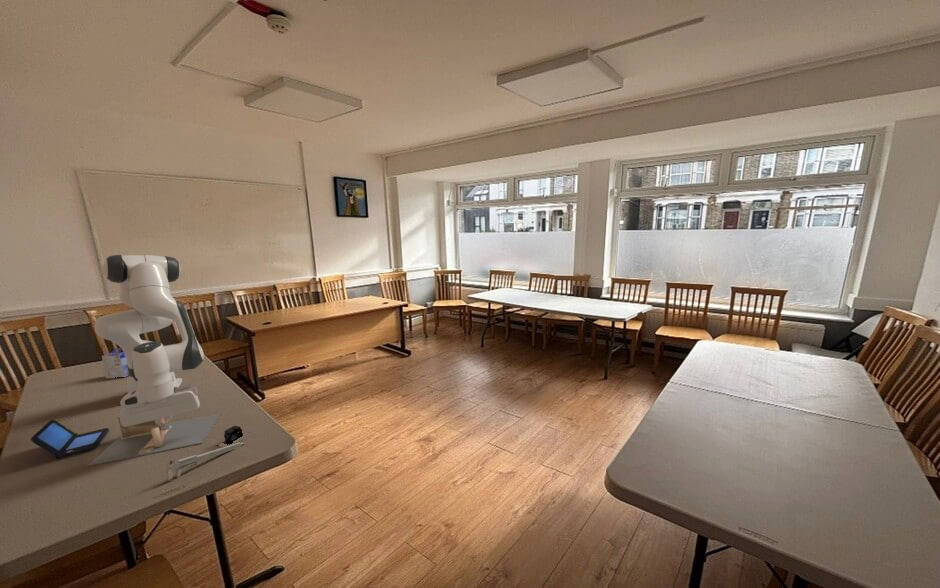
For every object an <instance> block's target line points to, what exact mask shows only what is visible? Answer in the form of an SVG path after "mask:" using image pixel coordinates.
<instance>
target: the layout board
mask: <svg viewBox="0 0 940 588" xmlns="http://www.w3.org/2000/svg"><path fill="white" fill-rule="evenodd" d="M220 414H221V413H217V414H212V415H210V414H209V415H204V416H198V417H195V418H189V419H183V420H177V421H172V422H171V421H170V423H169V424H170V429H168V430H166V433H165V436H164V439H163V442H162V443H163V445H162V446H160V447H155V445H154V441H153V436H152V432H150V433H144V434H139V435H134V436H130V437H127V438H123V436H122V434H121V435H119V436H118V437H117V438H116V439H115V440H114V441H113V442H111V444H110V445H109V446H107V447H106V448H105V449H104V450H103V451H102V452H101V453H100V454H99V455H98V456H96V457H95V458H94V460H92V461H91V462H90V463H89V464H88V465H87V466H89V467H93V466H92V465H94V466H97V465H96V464H99V465H103V464H102V463H104V464H108V463H107V462H109V463H113V462H112V461H114V462H117V461H116V460H119V461H122V459H124V460H127V459H128V458H129V459H133V458H138V457H142V456H147V455H148V456H149V455H154V454H159V453H162V452H163V453H164V452H167V451H172V450H178V449H182V447H183V448H188V447H191V446H196V445H197V444H198V445H202V444H203V442H205V440H206V439H207V436H209V434H210V433H211V431H212V429H213V428H214V426H215V425H216V423H217V422H218V420H219V419H220V417H221V416H220ZM219 416H220V417H219ZM218 418H219V419H218ZM217 419H218V420H217ZM216 421H217V422H216ZM215 422H216V423H215ZM214 424H215V425H214ZM212 427H213V428H212Z"/></svg>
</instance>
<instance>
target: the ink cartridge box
mask: <svg viewBox="0 0 940 588" xmlns="http://www.w3.org/2000/svg"><path fill="white" fill-rule="evenodd" d="M121 350H122V348H121V347H119V348H118V347H117V348H113V350H112V352H110V353H107V354H104V355H101V359H102V364H103V370H104V374H105V379H118V378H117V377H125V378H127V377H129V376H128V375H129V374H128V363H127V359H126V356H125V354H124V351H122V352H121ZM126 376H127V377H126ZM115 377H116V378H115Z"/></svg>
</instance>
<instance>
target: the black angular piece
mask: <svg viewBox="0 0 940 588" xmlns="http://www.w3.org/2000/svg"><path fill="white" fill-rule="evenodd" d="M242 431H243V429H242V428H241V426H239V425H233V426H231V427H229V428H227V429H225V430H224V431H223V432H224V433H223V437H224V440H223V441H224V442H223V441H221V442H222V443H224V444H227V445H228V444H229V445H230V444H232V443H233V441H235V440H237V439H238V438H240V437H242V436H243V433H242Z"/></svg>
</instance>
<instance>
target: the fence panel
mask: <svg viewBox="0 0 940 588" xmlns="http://www.w3.org/2000/svg"><path fill="white" fill-rule="evenodd" d="M161 421H162V422H163V423H164V424H165V421H164V418H162V420H161ZM151 432H152V436H153V441H154V445H155V447H160V446H162V445H163V443H162V442H163V439H164V436H165V433H166V430H164V431H161V427H160V426H159V425H157V424H156V423H155V426H154V428H152V429H151Z"/></svg>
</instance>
